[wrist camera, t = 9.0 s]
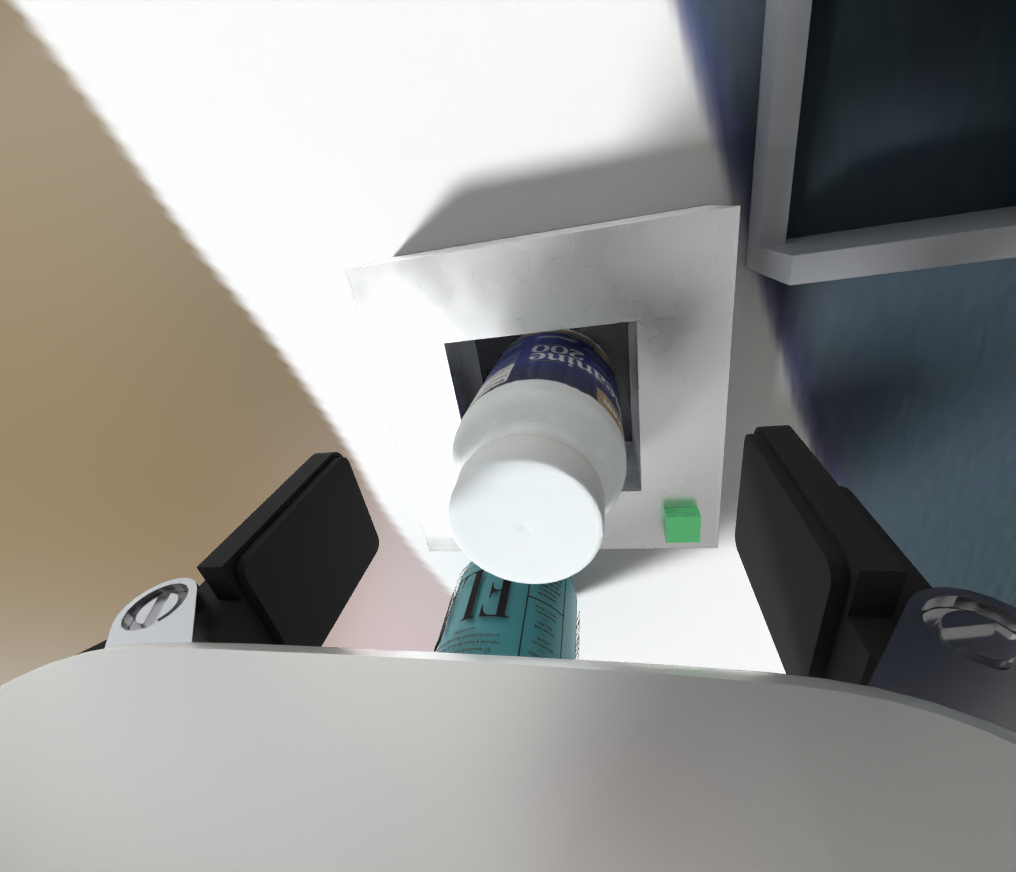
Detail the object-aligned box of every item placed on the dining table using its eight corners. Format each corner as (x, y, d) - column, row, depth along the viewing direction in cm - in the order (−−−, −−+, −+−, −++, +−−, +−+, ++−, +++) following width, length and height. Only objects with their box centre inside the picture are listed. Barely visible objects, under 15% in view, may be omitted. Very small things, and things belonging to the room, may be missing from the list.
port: (391, 257, 18) (335, 272, 14) (706, 205, 16) (747, 205, 12) (453, 499, 23) (425, 560, 19) (695, 489, 21) (721, 558, 17)
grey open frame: (770, -53, 12) (841, -154, 9) (1189, -167, 11) (1488, -352, 7) (745, 268, 16) (789, 285, 13) (1052, 226, 14) (1202, 233, 11)
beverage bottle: (530, 503, 23) (335, 1519, 5) (605, 585, 24) (650, 1552, 7) (442, 555, 25) (115, 1342, 8) (515, 626, 27) (383, 1398, 10)
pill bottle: (643, 376, 19) (686, 524, 10) (562, 458, 21) (543, 631, 13) (543, 296, 18) (497, 384, 9) (471, 391, 20) (385, 529, 12)
